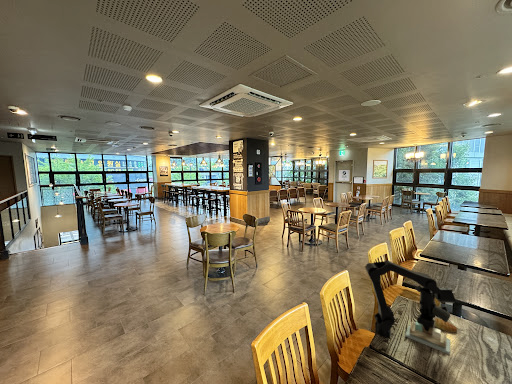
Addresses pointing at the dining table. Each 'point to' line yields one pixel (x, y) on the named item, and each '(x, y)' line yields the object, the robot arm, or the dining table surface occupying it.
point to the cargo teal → (418, 326)
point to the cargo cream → (436, 333)
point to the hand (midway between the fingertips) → (427, 329)
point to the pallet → (428, 335)
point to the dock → (428, 343)
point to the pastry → (444, 325)
